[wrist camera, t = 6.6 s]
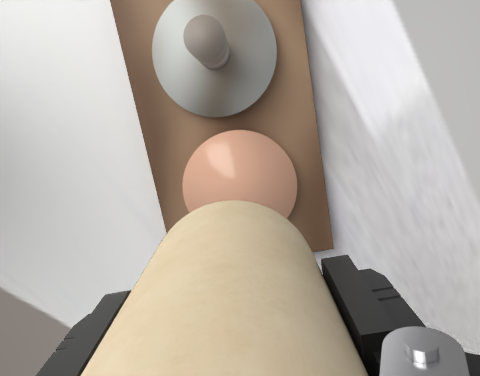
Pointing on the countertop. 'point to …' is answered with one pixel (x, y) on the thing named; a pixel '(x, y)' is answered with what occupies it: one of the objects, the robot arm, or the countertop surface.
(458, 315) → the countertop surface
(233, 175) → the pad
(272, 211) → the candle
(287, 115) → the board
